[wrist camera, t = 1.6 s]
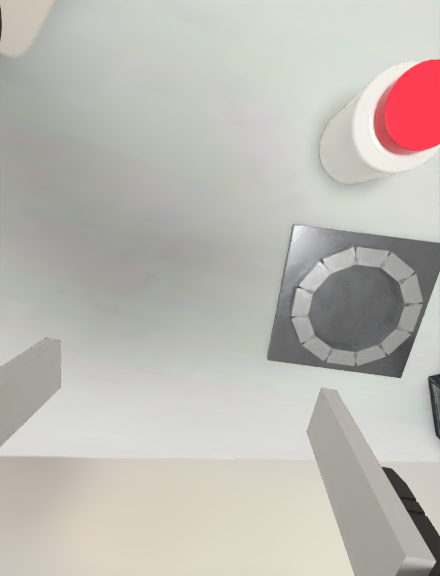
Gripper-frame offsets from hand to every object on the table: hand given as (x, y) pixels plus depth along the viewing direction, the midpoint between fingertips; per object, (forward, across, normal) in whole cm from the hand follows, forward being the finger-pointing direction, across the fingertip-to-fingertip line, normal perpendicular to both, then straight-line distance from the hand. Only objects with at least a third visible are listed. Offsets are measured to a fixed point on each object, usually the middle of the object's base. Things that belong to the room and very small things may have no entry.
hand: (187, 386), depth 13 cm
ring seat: (+21, +17, 0) cm, 27 cm away
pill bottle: (+21, +12, +18) cm, 31 cm away
